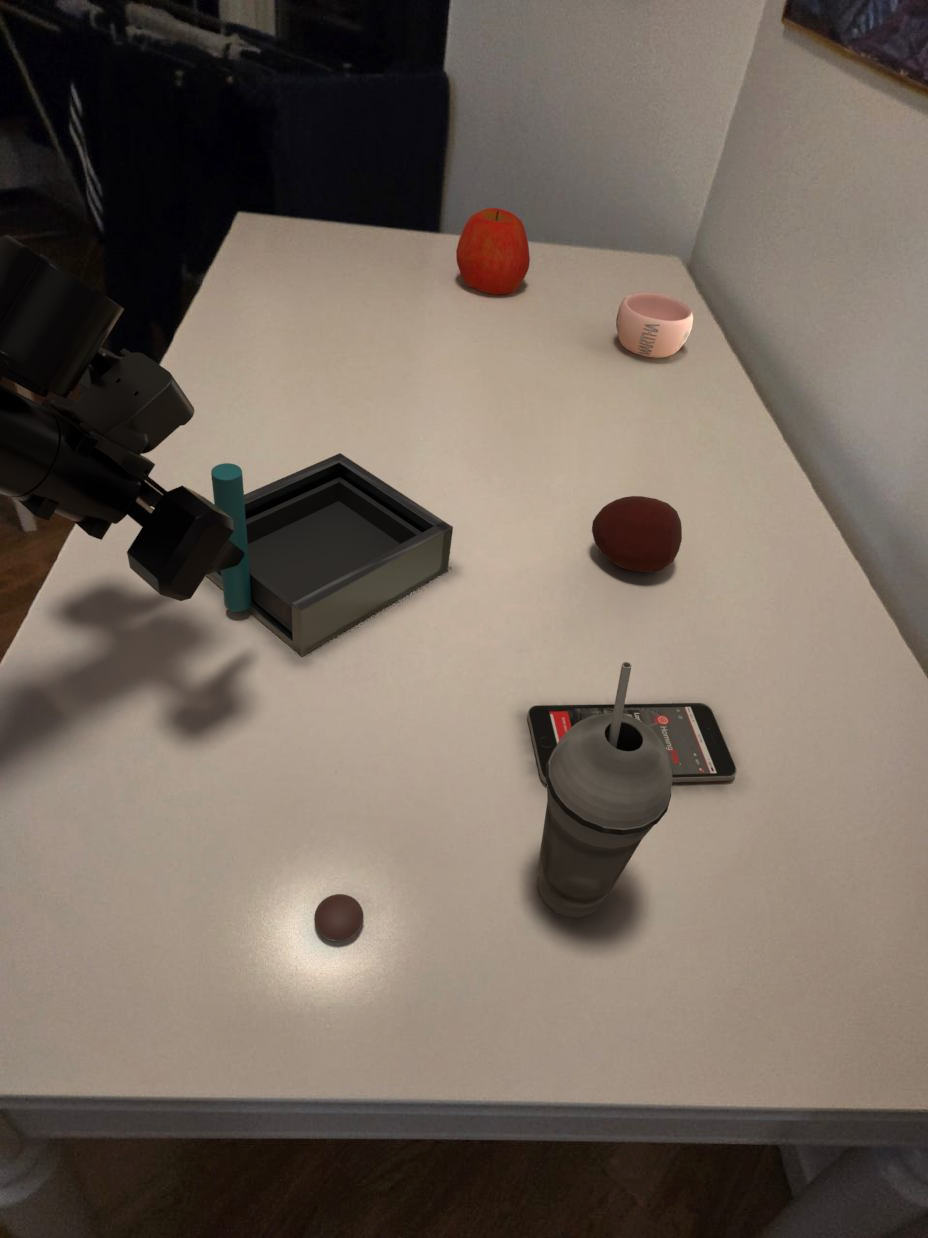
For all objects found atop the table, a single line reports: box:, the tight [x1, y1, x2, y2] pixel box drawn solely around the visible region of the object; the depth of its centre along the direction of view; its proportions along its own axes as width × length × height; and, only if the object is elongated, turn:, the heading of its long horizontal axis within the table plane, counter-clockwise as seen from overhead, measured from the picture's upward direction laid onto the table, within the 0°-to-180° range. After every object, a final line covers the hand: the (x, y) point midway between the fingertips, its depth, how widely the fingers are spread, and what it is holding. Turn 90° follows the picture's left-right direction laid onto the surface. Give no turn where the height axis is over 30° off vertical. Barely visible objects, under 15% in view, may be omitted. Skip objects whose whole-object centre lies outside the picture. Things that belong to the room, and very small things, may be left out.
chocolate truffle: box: [313, 893, 364, 942], centre depth 54 cm, size 3×3×2 cm
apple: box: [455, 207, 531, 295], centre depth 127 cm, size 11×11×11 cm
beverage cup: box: [536, 661, 673, 919], centre depth 52 cm, size 7×7×20 cm
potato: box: [591, 495, 683, 573], centre depth 83 cm, size 7×8×7 cm
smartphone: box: [526, 702, 738, 785], centre depth 67 cm, size 7×1×15 cm
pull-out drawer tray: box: [205, 452, 454, 657], centre depth 78 cm, size 17×15×5 cm
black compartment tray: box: [210, 462, 422, 632], centre depth 73 cm, size 17×12×13 cm
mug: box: [615, 291, 694, 359], centre depth 119 cm, size 12×10×6 cm
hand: (202, 528), depth 66 cm, fingers open, 9 cm apart
